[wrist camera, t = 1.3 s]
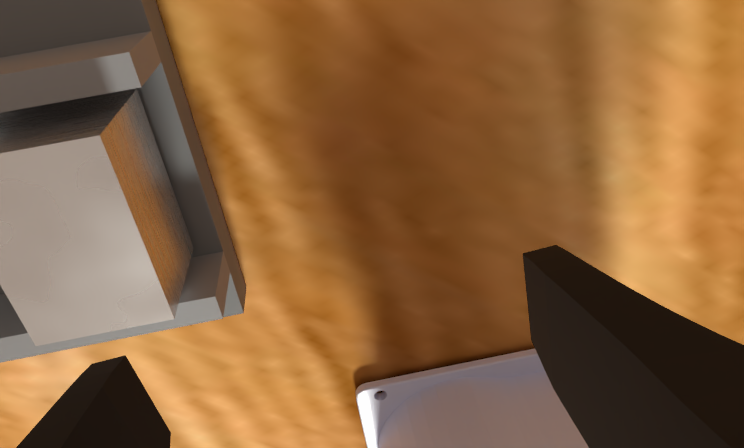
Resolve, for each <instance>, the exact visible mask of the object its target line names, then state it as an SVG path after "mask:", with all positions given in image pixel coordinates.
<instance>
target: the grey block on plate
mask: <svg viewBox="0 0 744 448" xmlns="http://www.w3.org/2000/svg"><path fill="white" fill-rule="evenodd" d="M193 248H194V247H193V244H192V242H191V239H190V236H189V233H188V230H187V228H186V225H185V222H184V219H183V216H182V214H181V211H180V208H179V205H178V202H177V200H176V197H175V194H174V191H173V188H172V186H171V183H170V180H169V177H168V174H167V172H166V169H165V166H164V163H163V160H162V158H161V155H160V152H159V149H158V146H157V144H156V141H155V138H154V135H153V132H152V130H151V127H150V124H149V121H148V118H147V116H146V113H145V110H144V107H143V104H142V102H141V99H140V96H139V93H138V90H137V89H133V90H127V91H122V92H116V93H110V94H105V95H99V96H94V97H88V98H83V99H77V100H72V101H66V102H61V103H55V104H50V105H44V106H38V107H33V108H27V109H22V110H16V111H11V112H5V113H2V114H1V115H0V285H1V287H2V289H3V291H4V292H5V294H6V296H7V298H8V299H9V301H10V303H11V304H12V306H13V308H14V310H15V311H16V313H17V315H18V317H19V318H20V320H21V322H22V323H23V325H24V327H25V329H26V330H27V332H28V334H29V336H30V337H31V339H32V341H33V342H34V344H35V346H40V345H45V344H50V343H55V342H61V341H66V340H71V339H76V338H81V337H86V336H91V335H96V334H101V333H106V332H111V331H116V330H121V329H127V328H132V327H137V326H142V325H147V324H152V323H157V322H162V321H167V320H172V319H175V315H176V311H177V308H178V304H179V300H180V297H181V293H182V289H183V285H184V282H185V278H186V274H187V270H188V267H189V263H190V259H191V255H192V252H193Z"/></svg>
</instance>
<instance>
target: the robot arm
mask: <svg viewBox="0 0 744 448" xmlns="http://www.w3.org/2000/svg"><path fill="white" fill-rule="evenodd" d="M523 261H524V271H525V281H526V291H527V301H528V311H529V321H530V331H531V340H532V343H533V345H534V347H535V348H534V349H529V350H525V351H520V352H515V353H510V354H505V355H500V356H495V357H490V358H485V359H480V360H476V361H471V362H466V363H461V364H456V365H451V366H446V367H441V368H436V369H431V370H427V371H422V372H417V373H412V374H407V375H402V376H397V377H392V378H387V379H382V380H377V381H373V382H368V383H364V384H361V385H360V386H359V387H358V388H357V389H356V400H357V405H358V409H359V414H360V418H361V423H362V427H363V432H364V436H365V440H366V445H367V448H744V345H742V344H740V343H737V342H735V341H733V340H731V339H728V338H726V337H724V336H722V335H720V334H718V333H716V332H714V331H711V330H709V329H707V328H705V327H703V326H701V325H699V324H697V323H695V322H693V321H691V320H689V319H687V318H685V317H683V316H681V315H679V314H677V313H675V312H673V311H671V310H669V309H667V308H665V307H663V306H661V305H659V304H658V303H656V302H654V301H652V300H650V299H648V298H646V297H645V296H643V295H641V294H639V293H637V292H636V291H634V290H632V289H630V288H629V287H627V286H625V285H623V284H622V283H620V282H618V281H616V280H615V279H613V278H611V277H610V276H608V275H606V274H604V273H603V272H601V271H599V270H598V269H596V268H594V267H593V266H591V265H589V264H588V263H586V262H584V261H583V260H581V259H579V258H578V257H576V256H574V255H573V254H571V253H569V252H568V251H566V250H564V249H563V248H561V247H559V246H557V245H554V246H550V247H546V248H542V249H538V250H535V251H531V252H527V253H523ZM378 391H384V392H381V393H376V392H378ZM170 436H171V432H170V431H169V429H168V427H167V426H166V424H165V422H164V421H163V419H162V417H161V415H160V414H159V412H158V410H157V409H156V407H155V405H154V403H153V402H152V400H151V398H150V397H149V395H148V393H147V392H146V390H145V388H144V386H143V385H142V383H141V381H140V380H139V378H138V376H137V374H136V373H135V371H134V369H133V368H132V366H131V364H130V363H129V361H128V359H127V357H126V356H121V357H118V358H114V359H110V360H106V361H102V362H98V363H94V364H91V365H90V366H89V367H88V368H87V369H86V370H85V371H84V372H83V373H82V374H81V375H80V377H79V378H78V379H77V380H76V381H75V382H74V383H73V384H72V385H71V386H70V387H69V388H68V390H67V391H66V392H65V393H64V394H63V395H62V396H61V397H60V399H59V400H58V401H57V402H56V403H55V404H54V405H53V407H52V408H51V409H50V410H49V411H48V412H47V413H46V415H45V416H44V417H43V418H42V419H41V420H40V421H39V423H38V424H37V425H36V426H35V427H34V428H33V429H32V430H31V432H30V433H29V434H28V435H27V436H26V437H25V438H24V439H23V441H22V442H21V443H20V444H19V445H18V446H17V447H16V448H170Z"/></svg>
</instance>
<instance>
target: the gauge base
mask: <svg viewBox="0 0 744 448" xmlns="http://www.w3.org/2000/svg"><path fill="white" fill-rule="evenodd" d="M133 89H137V90H138V93H139V96H140V99H141V102H142V104H143V107H144V110H145V113H146V116H147V118H148V121H149V124H150V127H151V130H152V132H153V135H154V138H155V141H156V144H157V146H158V149H159V152H160V155H161V158H162V160H163V163H164V166H165V169H166V172H167V174H168V177H169V180H170V183H171V186H172V188H173V191H174V194H175V197H176V200H177V202H178V205H179V208H180V211H181V214H182V216H183V219H184V222H185V225H186V228H187V230H188V233H189V236H190V239H191V242H192V244H193V247H194V248H193V252H192V255H191V259H190V263H189V267H188V270H187V274H186V278H185V282H184V285H183V289H182V293H181V297H180V300H179V304H178V308H177V311H176V315H175V319H172V320H167V321H162V322H157V323H152V324H147V325H142V326H137V327H132V328H127V329H121V330H116V331H111V332H106V333H101V334H96V335H91V336H86V337H81V338H76V339H71V340H66V341H61V342H55V343H50V344H45V345H40V346H35V344H34V342H33V341H32V339H31V337H30V336H29V334H28V332H27V330H26V329H25V327H24V325H23V323H22V322H21V320H20V318H19V317H18V315H17V313H16V311H15V310H14V308H13V306H12V304H11V303H10V301H9V299H8V298H7V296H6V294H5V292H4V291H3V289H2V287H1V285H0V362H5V361H10V360H15V359H21V358H26V357H31V356H36V355H41V354H46V353H51V352H56V351H61V350H66V349H71V348H76V347H81V346H86V345H91V344H96V343H102V342H107V341H112V340H117V339H122V338H127V337H132V336H137V335H142V334H147V333H152V332H157V331H162V330H167V329H172V328H177V327H183V326H188V325H193V324H198V323H203V322H208V321H213V320H218V319H223V317H226V316H231V315H236V314H241V313H244V304H245V294H246V285H245V282H244V279H243V276H242V272H241V269H240V266H239V263H238V260H237V257H236V253H235V250H234V247H233V244H232V241H231V238H230V234H229V231H228V228H227V225H226V222H225V219H224V215H223V212H222V209H221V206H220V203H219V200H218V196H217V193H216V190H215V187H214V184H213V181H212V177H211V174H210V171H209V168H208V165H207V162H206V158H205V155H204V152H203V149H202V146H201V143H200V139H199V136H198V133H197V130H196V127H195V124H194V120H193V117H192V114H191V111H190V108H189V105H188V101H187V98H186V95H185V92H184V89H183V86H182V82H181V79H180V76H179V73H178V70H177V67H176V63H175V60H174V57H173V54H172V51H171V48H170V44H169V41H168V38H167V35H166V32H165V29H164V25H163V22H162V19H161V16H160V13H159V10H158V6H157V3H156V0H0V115H1V114H2V113H5V112H11V111H16V110H22V109H27V108H33V107H38V106H44V105H50V104H55V103H61V102H66V101H72V100H77V99H83V98H88V97H94V96H99V95H105V94H110V93H116V92H122V91H127V90H133Z"/></svg>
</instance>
